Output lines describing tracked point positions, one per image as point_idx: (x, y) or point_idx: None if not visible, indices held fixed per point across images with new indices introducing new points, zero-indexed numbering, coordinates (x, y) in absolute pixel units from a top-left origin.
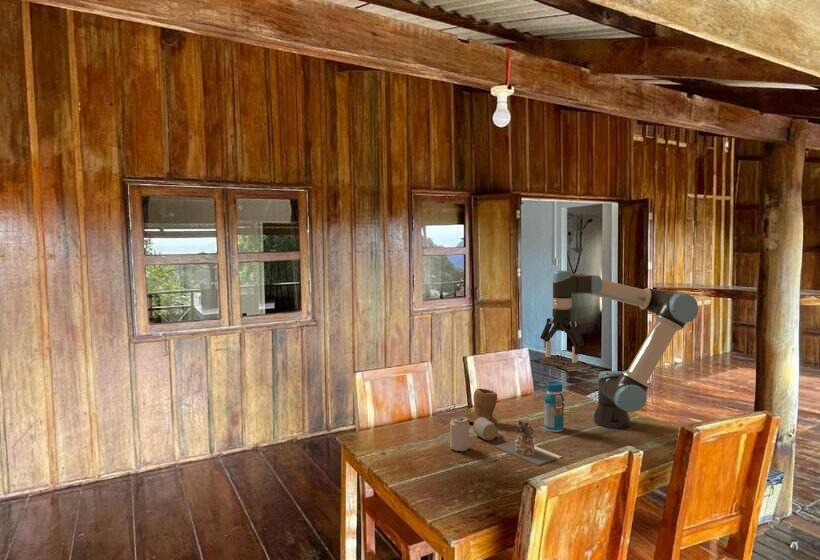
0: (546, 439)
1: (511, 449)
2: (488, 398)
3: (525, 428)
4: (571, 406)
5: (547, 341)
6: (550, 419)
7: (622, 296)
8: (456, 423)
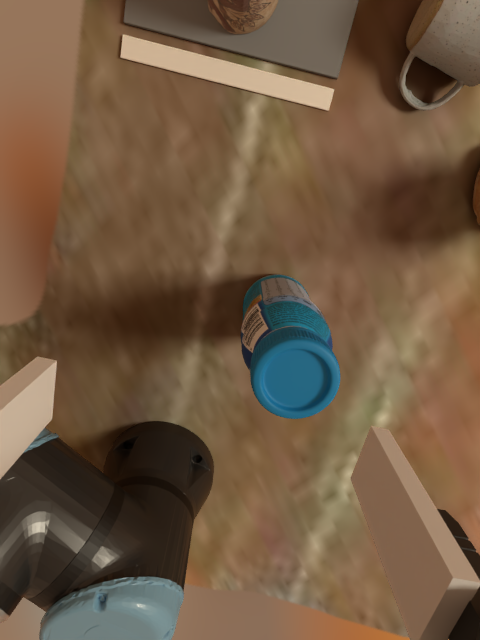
0: (248, 194)
1: None
2: None
3: None
4: (323, 529)
5: (456, 601)
6: (276, 284)
7: None
8: None
